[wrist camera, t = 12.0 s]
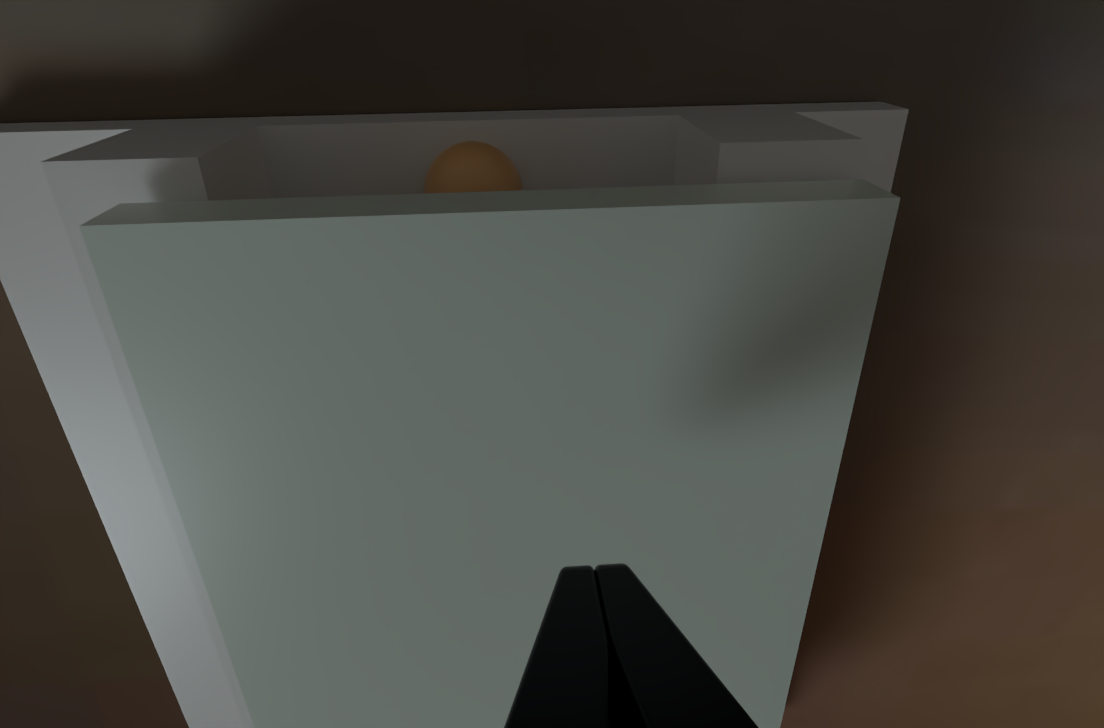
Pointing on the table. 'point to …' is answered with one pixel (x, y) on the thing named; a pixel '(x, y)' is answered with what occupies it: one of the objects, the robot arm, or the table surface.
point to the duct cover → (495, 422)
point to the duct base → (322, 171)
